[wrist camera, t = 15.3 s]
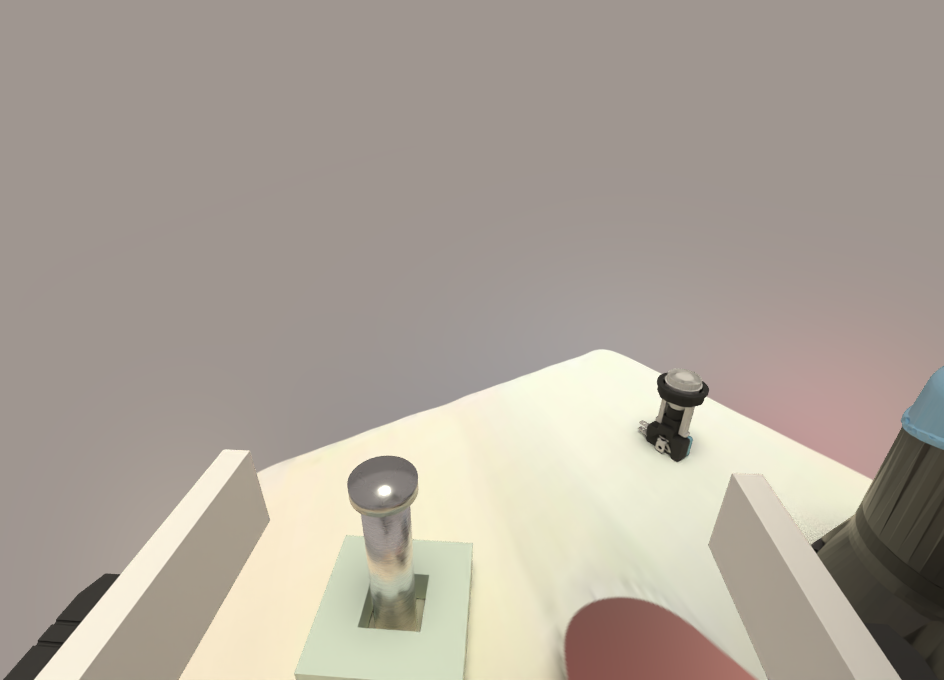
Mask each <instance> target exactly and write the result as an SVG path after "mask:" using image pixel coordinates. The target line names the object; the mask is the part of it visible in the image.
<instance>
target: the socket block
mask: <svg viewBox="0 0 944 680" xmlns="http://www.w3.org/2000/svg"><path fill="white" fill-rule="evenodd" d="M412 545H413V561H414V577H415V594H416V598H420V599H425V605H424V611H423V618H422V624H421V630H420V632H414V631H400V630H387V629H373V628H368V625H369V621H370V618H371V614H372V610H373V604H372V596H371V588H370V580H369V572H368V564H367V556H366V548H365V541H364V536H350V535H346V536H345V539H344V542H343V544H342V547H341V550H340V552H339V555H338V558H337V560H336V563H335V566H334V568H333V571H332V574H331V576H330V579H329V582H328V584H327V587H326V590H325V592H324V595H323V598H322V601H321V603H320V606H319V609H318V611H317V614H316V617H315V619H314V622H313V625H312V627H311V630H310V633H309V635H308V638H307V641H306V643H305V646H304V649H303V651H302V654H301V657H300V659H299V662H298V665H297V667H296V670H295V673H294V675H295V678H296V680H464V676H465V662H466V648H467V633H468V619H469V605H470V591H471V576H472V552H473V543H462V542H446V541H430V540H414V539H412Z"/></svg>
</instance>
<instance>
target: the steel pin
mask: <svg viewBox="0 0 944 680" xmlns="http://www.w3.org/2000/svg"><path fill="white" fill-rule="evenodd" d="M347 485H348V493H349V500H350V503H351V505H352V506H353V508H354V509H355V510H356V511H358V512H359V513H361V517H362V525H363V533H364V541H365V548H366V556H367V564H368V572H369V580H370V588H371V596H372V604H373V612H374V620H375V627H376V629H387V630H400V631H414V632H416V629H417V610H416V594H415V577H414V561H413V545H412V528H411V512H410V505H411V504H412V503H413V502H414V500H415V499H416V497H417V494H418V474H417V471H416V468H415V467H414V466H413V464H412V463H410V462H409V461H407V460H406V459H403V458H400V457H396V456H380V457H375V458H372V459H369V460H367V461H365V462H363V463H361V464H360V465H358V466H357V467H356V468H355V469H354V470H353V471H352V473H351V474H350V476H349V478H348V483H347Z"/></svg>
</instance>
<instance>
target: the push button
mask: <svg viewBox="0 0 944 680" xmlns="http://www.w3.org/2000/svg"><path fill="white" fill-rule="evenodd" d="M657 384H658V389H657V390H658V392H659V395H660V397H661V398H662V402H661V406H660V410H659V414H658V416H657V417H656V421H654V422H652V423H650V424H648V423H647V422H645V421H643V420H642V421H640V422H639V423H640V424H642V425H643V426H645V428H644V427H642V426H641V427H639V428H638V429H639V430H641V431H642V432H644V434H645V435H647V438H646V439H647V441H648V442H650V443H651V444H653V445H655V446H656V447H655V448H656V450H658V451H660V452H661V453H663V452H666V453H667V454H669V455H670V456H671V458H672V459H673V460H675V461H679V460H681V459H682V458H684V457H685V456H687V455H688V454H689V452H690V448H691V444H692V441H693V439H692V437H691V436H689V434H690V433H689V432H688V430H689V426H690V422H691V419H692V415H693V412H694V408H695V406H698V405H701V404H702V403H703V401H704V398H705V397H706V396H707V395H708V392H709V388H708V386H707V385H706V384H705V383H704V382H703V381H702V379H701V377H700V376H699V375H698V374H696V373H695V372H692V371H689V370H685V369H672V370H670V371H669V372H668V373H664V374H662V375H660V376H659V377H658V380H657ZM643 423H646V424H643ZM646 428H647V429H646ZM642 429H644V430H642Z"/></svg>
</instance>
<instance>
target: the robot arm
mask: <svg viewBox="0 0 944 680" xmlns="http://www.w3.org/2000/svg"><path fill="white" fill-rule="evenodd" d="M901 422H902V428H901V430H900V432H899V434H898V436H897V438H896V440H895V441H894V443H893V445H892V447H891V449H890V451H889V453H888V454H887V456H886V458H885V460H884V462H883V463H882V465H881V467H880V469H879V471H878V472H877V474H876V476H875V478H874V480H873V482H872V483H871V485H870V487H869V489H868V491H867V493H866V494H865V496H864V498H863V500H862V502H861V504H860V506H859V508H858V509H857V511H856V513H855V515H853V516H852V517H850V518H849V519H847V520H846V521H844V522H843V523H841V524H840V525H839V526H837V527H836V528H834V529H833V530H831V531H830V532H828V533H827V534H826V535H824V536H823V537H822V538H820V539H818V540H817V541H816V542H814V543H813V544H811V545H810V544H809V542H808V541H807V539H806V538H805V536H804V535H803V533H802V532H801V530H800V529H799V527H798V526H797V524H796V523H795V521H794V520H793V519H792V517H791V516H790V514H789V513H788V511H787V510H786V508H785V507H784V505H783V504H782V502H781V501H780V499H779V498H778V496H777V495H776V493H775V492H774V490H773V489H772V487H771V486H770V484H769V483H768V482H767V480H766V479H765V477H764V476H763V474H743V473H732V475H731V478H730V481H729V484H728V487H727V490H726V493H725V496H724V499H723V502H722V505H721V508H720V511H719V514H718V517H717V520H716V523H715V526H714V529H713V532H712V535H711V538H710V541H709V544H708V545H709V548H710V550H711V552H712V554H713V557H714V559H715V561H716V563H717V566H718V568H719V570H720V572H721V575H722V577H723V579H724V581H725V584H726V586H727V588H728V590H729V593H730V595H731V597H732V599H733V602H734V604H735V606H736V608H737V610H738V613H739V615H740V617H741V619H742V622H743V624H744V626H745V628H746V631H747V633H748V635H749V637H750V640H751V642H752V644H753V646H754V649H755V651H756V653H757V655H758V658H759V660H760V662H761V664H762V667H763V669H764V671H765V673H766V676H767V678H768V680H944V366H943V367H941V368H940V369H938V370H937V371H936V372H935V373H934V374H933V375H932V376H931V377H930V379H929V380H928V382H927V383H926V385H925V386H924V388H923V390H922V391H921V393H920V395H919V396H918V398H917V399H916V401H915V402H914V404H913V405H912V406H911V407H909V408H908V409H907V410H906V411H905V412H904V414H903V416H902V419H901ZM269 521H270V518H269V515H268V511H267V508H266V504H265V501H264V498H263V494H262V491H261V487H260V484H259V481H258V477H257V474H256V470H255V467H254V463H253V460H252V457H251V453H250V451H245V450H223V451H222V452H221V453H220V455H219V456H218V457H217V458H216V460H215V461H214V462H213V463H212V464H211V466H210V467H209V468H208V469H207V471H206V472H205V473H204V474H203V475H202V476H201V478H200V479H199V480H198V481H197V483H196V484H195V485H194V486H193V487H192V489H191V490H190V491H189V492H188V494H187V495H186V496H185V497H184V498H183V500H182V501H181V502H180V503H179V504H178V506H177V507H176V508H175V509H174V510H173V512H172V513H171V514H170V515H169V516H168V518H167V519H166V520H165V521H164V523H163V524H162V525H161V526H160V527H159V529H158V530H157V531H156V532H155V534H154V535H153V536H152V537H151V538H150V540H149V541H148V542H147V543H146V544H145V546H144V547H143V548H142V549H141V551H140V552H139V553H138V554H137V556H136V557H135V558H134V559H133V560H132V561H131V563H130V564H129V565H128V566H127V568H126V569H125V570H124V571H123V573H122V574H121V575H120V574H104V575H103V576H102V577H101V578H99V579H98V580H96V581H95V582H94V583H92V584H91V585H90V586H89V587H87V588H86V589H85V590H83V591H82V592H81V593H79V594H78V595H77V596H76V597H75V599H74V600H73V601H72V602H71V603H70V604H69V606H68V607H67V608H66V609H65V610H64V611H63V612H62V614H61V615H60V616H59V617H58V618H57V619H56V623H55V624H54V625H51V626H50V627H49V628H48V629H47V631H46V632H45V633H44V634H43V635H42V636H41V637H40V638H39V640H38V643H37V645H36V646H32V648H31V649H30V650H29V651H28V652H27V653H26V654H25V656H24V657H23V658H22V659H21V660H20V661H19V662H18V664H17V665H16V666H15V667H14V668H13V669H12V670H11V672H10V673H9V674H8V675H7V676H6V677H5V678H4V679H3V680H179V678H180V676H181V674H182V673H183V671H184V669H185V667H186V666H187V664H188V662H189V660H190V659H191V657H192V655H193V653H194V652H195V650H196V648H197V647H198V645H199V643H200V641H201V640H202V638H203V636H204V634H205V633H206V631H207V629H208V627H209V626H210V624H211V622H212V620H213V619H214V617H215V615H216V613H217V612H218V610H219V608H220V606H221V605H222V603H223V601H224V599H225V598H226V596H227V594H228V593H229V591H230V589H231V587H232V586H233V584H234V582H235V580H236V579H237V577H238V575H239V573H240V572H241V570H242V568H243V566H244V565H245V563H246V561H247V559H248V558H249V556H250V554H251V552H252V551H253V549H254V547H255V545H256V544H257V542H258V540H259V539H260V537H261V535H262V533H263V532H264V530H265V528H266V526H267V525H268V523H269Z"/></svg>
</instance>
